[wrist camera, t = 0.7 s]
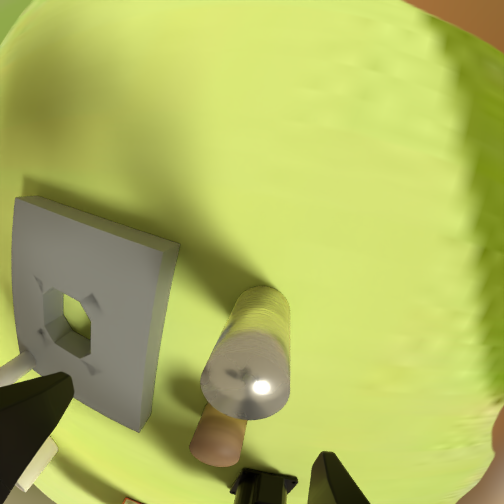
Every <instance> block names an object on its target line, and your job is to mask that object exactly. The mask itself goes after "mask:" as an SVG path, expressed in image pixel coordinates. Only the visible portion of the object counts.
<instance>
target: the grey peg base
mask: <svg viewBox="0 0 504 504" xmlns="http://www.w3.org/2000/svg"><path fill="white" fill-rule="evenodd" d="M179 247H180V244H179V243H176V242H173V241H170V240H167V239H164V238H161V237H158V236H155V235H151V234H148V233H145V232H142V231H139V230H136V229H133V228H130V227H127V226H124V225H121V224H118V223H116V222H113V221H110V220H107V219H104V218H101V217H98V216H95V215H92V214H89V213H86V212H83V211H80V210H77V209H74V208H71V207H69V206H66V205H63V204H60V203H57V202H54V201H51V200H48V199H46V198H43V197H40V196H27V197H16V198H15V205H14V215H13V229H12V291H13V305H14V316H15V324H16V332H17V339H18V345H19V351H20V354H19V355H18V356H17V357H15V358H14V359H12V360H11V361H9V362H8V363H6V364H5V365H3V366H2V367H0V387H2V386H7V385H11V384H13V383H14V382H16V381H17V380H18V379H20V378H21V377H22V376H24V375H25V374H26V373H28V372H29V371H30V370H31V369H33V370H34V371H36V372H37V373H38V374H40V375H41V376H46V375H49V374H53V373H57V372H60V371H63V372H65V373H67V374H69V375H70V376H71V377H72V381H73V386H74V391H75V393H74V398H75V399H77V400H78V401H80V402H82V403H83V404H85V405H87V406H88V407H90V408H92V409H94V410H95V411H97V412H99V413H101V414H103V415H104V416H106V417H108V418H110V419H112V420H114V421H116V422H118V423H120V424H122V425H124V426H126V427H128V428H130V429H132V430H134V431H136V432H138V433H140V431H141V429H142V428H143V426H144V425H145V423H146V421H147V420H148V418H149V416H150V415H151V409H152V400H153V392H154V385H155V377H156V370H157V363H158V357H159V350H160V344H161V338H162V332H163V326H164V321H165V315H166V310H167V304H168V299H169V294H170V289H171V284H172V279H173V274H174V270H175V265H176V260H177V256H178V252H179ZM63 293H64V294H66V295H68V296H70V297H72V298H74V299H75V300H77V301H79V302H80V303H81V305H82V307H83V309H84V310H85V312H86V314H87V316H88V317H89V319H90V321H91V340H89V339H87V338H85V337H83V336H82V335H80V334H78V333H76V332H74V331H73V330H72V329H71V327H70V325H69V324H68V322H67V320H66V318H65V317H64V315H63Z"/></svg>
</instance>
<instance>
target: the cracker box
mask: <svg viewBox="0 0 504 504" xmlns="http://www.w3.org/2000/svg"><path fill="white" fill-rule="evenodd" d="M122 504H141V503H139V502H136V501H134V500H131V499H129V498H126V497H125V499H124V501H123V503H122Z"/></svg>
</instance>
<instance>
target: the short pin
mask: <svg viewBox="0 0 504 504" xmlns="http://www.w3.org/2000/svg"><path fill="white" fill-rule="evenodd" d="M246 425H247V420H242V419H237V418H233V417H230V416H227V415H225V414H223V413H221V412H219V411H218V410H217V409H215V408H214V407H213V406H212V405H211V404H210V403H209V402H208V403H207V404H206V406H205V408H204V411H203V413H202V416H201V418H200V421H199V423H198V426H197V428H196V431H195V433H194V436H193V438H192V441H191V443H190V446H189V449H190V452H191V453H192V455H193V456H194V457H195V458H197V459H198V460H200V461H201V462H203V463H206V464H208V465H212V466H217V467H228V466H232V465H234V464H236V463H237V462H238V461H239V458H240V454H241V449H242V444H243V440H244V435H245V430H246Z"/></svg>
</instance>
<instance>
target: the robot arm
mask: <svg viewBox="0 0 504 504" xmlns="http://www.w3.org/2000/svg"><path fill="white" fill-rule="evenodd" d="M74 393H75V391H74V386H73V381H72V377H71V376H70V375H69V374H67V373H65V372H63V371H60V372H57V373H53V374H49V375H46V376H42V377H38V378H34V379H31V380H27V381H23V382H19V383H15V384H11V385H7V386H2V387H0V504H3V503H4V501H5V500H6V498H7V496H8V495H9V493H10V491H11V490H12V489H13V487H14V485H15V484H16V482H17V481H18V479H19V478H20V477H21V475H22V474H23V472H24V471H25V469H26V468H27V466H28V465H29V463H30V462H31V461H32V459H33V458H34V456H35V455H36V453H37V452H38V451H39V449H40V448H41V446H42V445H43V444H44V442H45V441H46V439H47V438H48V437H49V435H50V434H51V433H52V431H53V430H54V429H55V427H56V426H57V424H58V423H59V421H60V419H61V417H62V416H63V414H64V412H65V410H66V409H67V407H68V405H69V404H70V402H71V400H72V398H73V397H74ZM297 483H298V479H297V478H292V477H286V476H280V475H275V474H269V473H265V472H260V471H255V470H251V469H246V468H245V469H242V470H241V472H240V474H239V475H238V477H237V479H236V480H235V482H234V484H233V485H232V487H231V489H230V493H231V494H234V495H236V496H235V500H234V504H286V501H287V494H288V493H289V492H290V491H291V490H292V489H293V488H294V487H295V486H296V485H297ZM307 504H370V502H369V501H368V500H367V498H366V497H365V495H364V494H363V493H362V491H361V490H360V489H359V487H358V486H357V484H356V483H355V482H354V480H353V479H352V477H351V476H350V475H349V473H348V472H347V470H346V469H345V467H344V466H343V465H342V463H341V462H340V460H339V459H338V457H337V456H336V454H335V453H334V452H328V451H322V452H321V453H320V454H319V456H318V457H317V459H316V460H315V462H314V464H313V466H312V470H311V479H310V487H309V495H308V503H307Z"/></svg>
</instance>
